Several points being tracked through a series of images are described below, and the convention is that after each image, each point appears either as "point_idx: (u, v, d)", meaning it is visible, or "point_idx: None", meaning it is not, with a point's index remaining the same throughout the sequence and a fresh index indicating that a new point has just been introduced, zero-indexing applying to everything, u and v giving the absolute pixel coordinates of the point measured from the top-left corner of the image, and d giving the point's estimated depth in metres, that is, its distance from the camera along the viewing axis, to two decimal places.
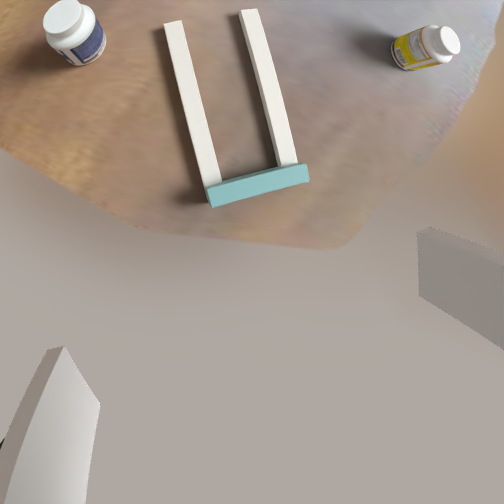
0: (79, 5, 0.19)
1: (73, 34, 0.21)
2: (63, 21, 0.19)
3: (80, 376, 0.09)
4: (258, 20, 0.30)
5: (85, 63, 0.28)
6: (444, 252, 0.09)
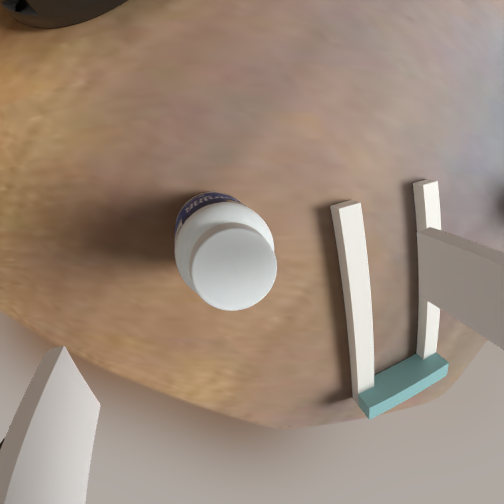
0: (272, 252, 0.15)
1: None
2: (243, 287, 0.15)
3: (80, 376, 0.09)
4: (437, 200, 0.26)
5: None
6: (444, 252, 0.09)
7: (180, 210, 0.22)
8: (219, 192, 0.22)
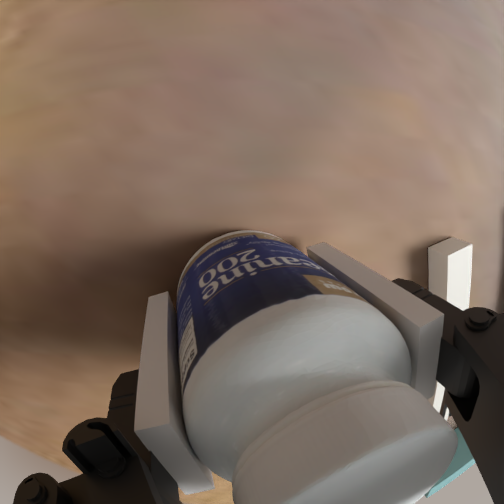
0: (454, 448, 0.04)
1: None
2: None
3: None
4: None
5: None
6: (325, 269, 0.11)
7: (185, 269, 0.11)
8: (262, 233, 0.12)
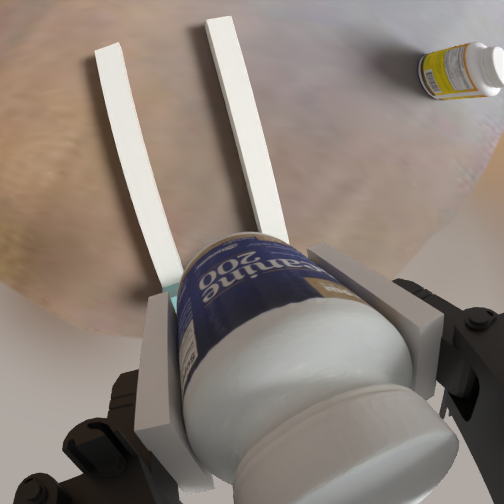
0: (455, 452, 0.04)
1: None
2: None
3: None
4: (232, 34, 0.21)
5: None
6: (325, 269, 0.11)
7: (185, 270, 0.11)
8: (262, 234, 0.12)
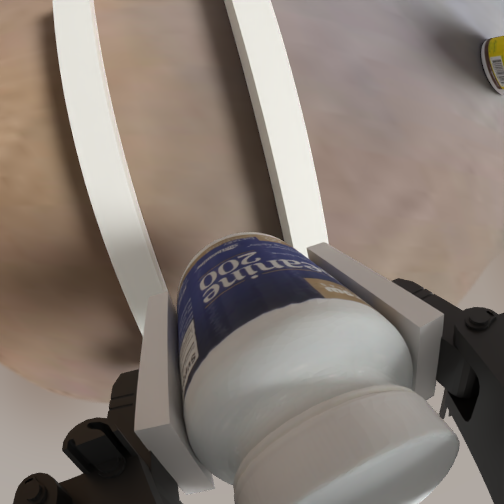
0: (455, 452, 0.04)
1: None
2: None
3: None
4: None
5: None
6: (325, 269, 0.11)
7: (186, 271, 0.11)
8: (262, 235, 0.12)
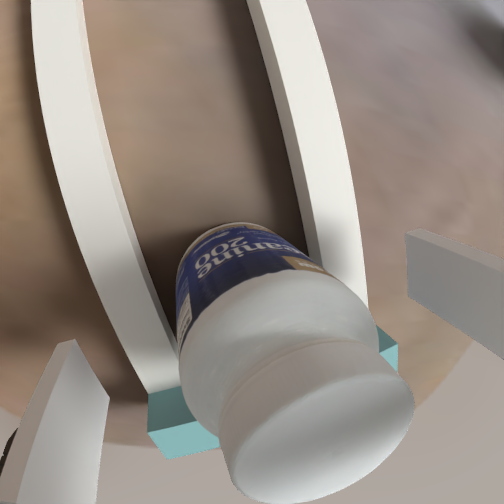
0: (411, 404, 0.05)
1: None
2: (340, 470, 0.05)
3: (90, 369, 0.09)
4: None
5: None
6: (431, 253, 0.10)
7: (184, 256, 0.13)
8: (252, 224, 0.13)
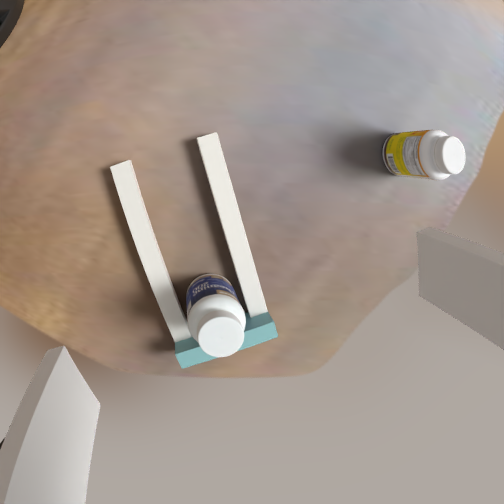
0: (240, 327, 0.27)
1: None
2: (225, 345, 0.27)
3: (80, 376, 0.09)
4: (219, 149, 0.30)
5: None
6: (444, 252, 0.09)
7: (189, 287, 0.34)
8: (214, 274, 0.34)
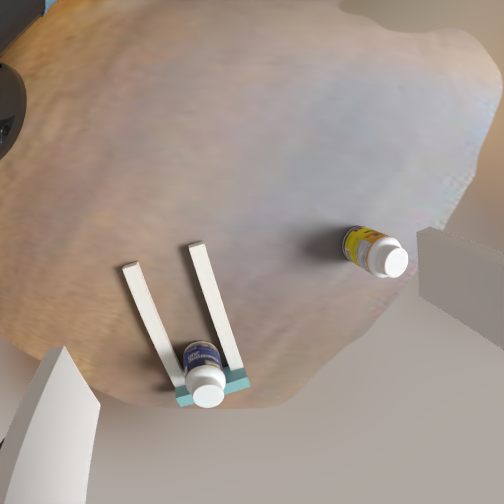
0: (221, 390, 0.37)
1: None
2: (211, 401, 0.37)
3: (80, 376, 0.09)
4: (206, 257, 0.41)
5: None
6: (444, 252, 0.09)
7: (185, 350, 0.44)
8: (203, 342, 0.45)
